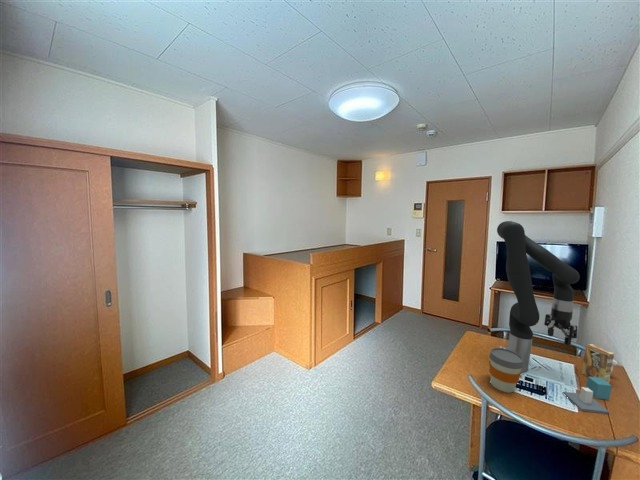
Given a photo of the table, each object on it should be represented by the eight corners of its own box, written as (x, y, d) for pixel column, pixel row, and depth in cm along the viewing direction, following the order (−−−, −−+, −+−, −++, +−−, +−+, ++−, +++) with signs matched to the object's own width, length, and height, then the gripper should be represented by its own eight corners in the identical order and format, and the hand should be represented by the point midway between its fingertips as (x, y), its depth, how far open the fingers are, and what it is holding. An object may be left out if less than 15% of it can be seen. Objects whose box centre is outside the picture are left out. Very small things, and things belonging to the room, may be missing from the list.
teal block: (595, 398, 116) (598, 384, 115) (585, 390, 121) (587, 376, 120) (609, 399, 115) (611, 385, 114) (598, 391, 120) (601, 377, 120)
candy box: (609, 383, 126) (615, 353, 124) (602, 385, 125) (608, 354, 123) (587, 372, 135) (592, 343, 132) (580, 373, 134) (585, 344, 131)
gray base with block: (581, 410, 108) (583, 396, 108) (562, 393, 118) (564, 380, 117) (609, 414, 107) (612, 399, 106) (588, 396, 117) (590, 383, 116)
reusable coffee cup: (479, 380, 126) (483, 350, 124) (497, 374, 131) (501, 345, 129) (507, 398, 114) (512, 365, 112) (525, 391, 119) (530, 359, 117)
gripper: (541, 302, 135) (538, 333, 137) (569, 314, 121) (565, 348, 123) (555, 302, 135) (552, 332, 137) (585, 313, 121) (580, 347, 123)
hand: (558, 340), depth 130 cm, fingers open, 8 cm apart
